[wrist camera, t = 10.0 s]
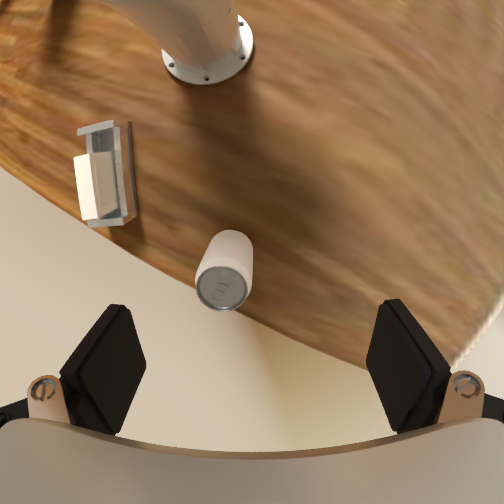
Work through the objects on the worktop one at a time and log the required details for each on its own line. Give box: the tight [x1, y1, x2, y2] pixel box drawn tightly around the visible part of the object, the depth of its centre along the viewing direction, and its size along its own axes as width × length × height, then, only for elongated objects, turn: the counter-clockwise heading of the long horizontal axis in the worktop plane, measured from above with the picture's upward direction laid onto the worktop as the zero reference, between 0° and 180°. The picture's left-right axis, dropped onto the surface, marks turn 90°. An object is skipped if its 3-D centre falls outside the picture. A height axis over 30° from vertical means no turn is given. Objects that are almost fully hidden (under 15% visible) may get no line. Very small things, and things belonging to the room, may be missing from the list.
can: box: [195, 230, 253, 312], centre depth 35 cm, size 6×6×12 cm
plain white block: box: [74, 151, 120, 220], centre depth 33 cm, size 8×3×8 cm, turn 3°
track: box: [77, 119, 139, 228], centre depth 34 cm, size 14×6×6 cm, turn 2°
